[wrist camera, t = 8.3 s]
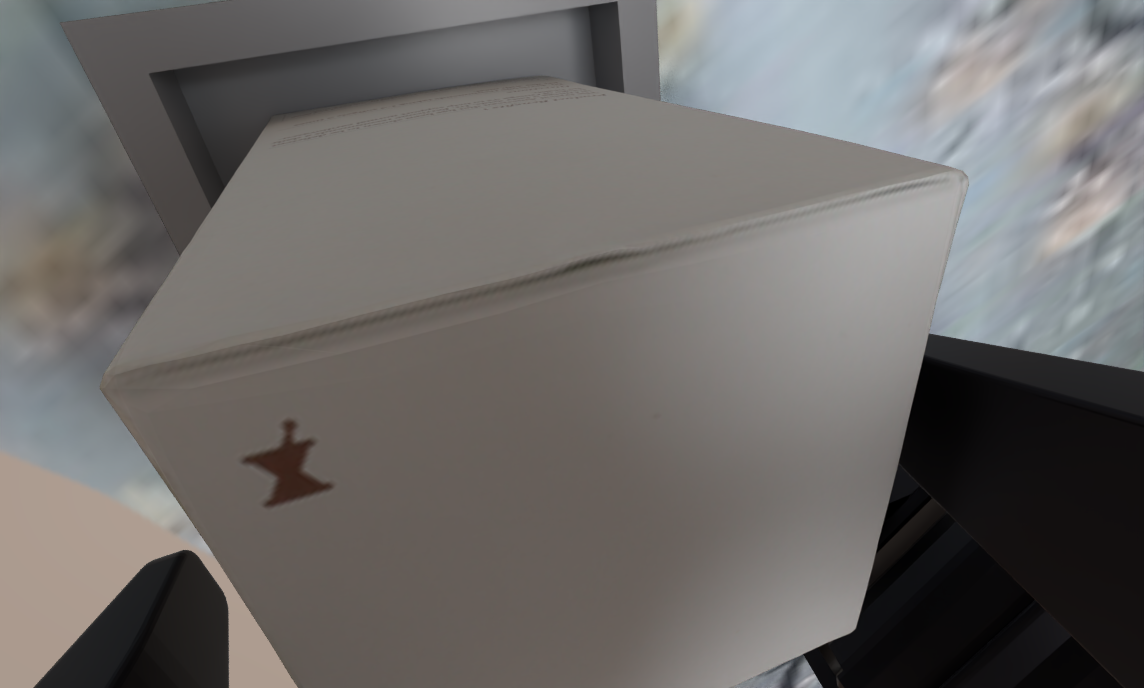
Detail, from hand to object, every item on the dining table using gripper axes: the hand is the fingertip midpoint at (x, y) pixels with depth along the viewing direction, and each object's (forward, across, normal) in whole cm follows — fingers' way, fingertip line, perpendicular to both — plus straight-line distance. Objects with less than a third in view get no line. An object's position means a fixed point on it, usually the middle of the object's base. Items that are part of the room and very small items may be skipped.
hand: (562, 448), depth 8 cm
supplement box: (+11, 0, 0) cm, 11 cm away
